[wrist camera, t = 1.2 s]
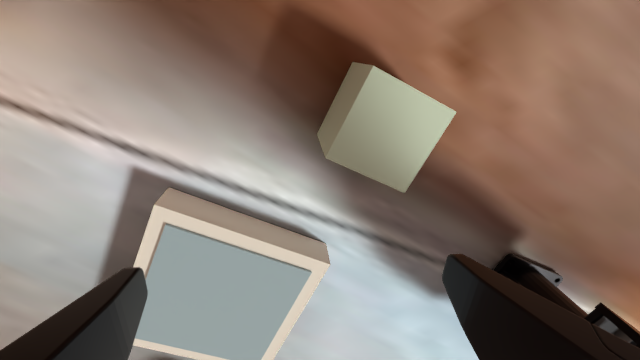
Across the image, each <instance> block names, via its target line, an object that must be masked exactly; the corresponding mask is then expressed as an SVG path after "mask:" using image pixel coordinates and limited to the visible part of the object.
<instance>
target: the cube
mask: <svg viewBox="0 0 640 360" xmlns="http://www.w3.org/2000/svg"><path fill="white" fill-rule="evenodd" d="M455 114H456V111H454V110H452V109H450V108H449V107H447V106H445V105H443V104H441V103H440V102H438V101H436V100H434V99H432V98H431V97H429V96H427V95H425V94H424V93H422V92H420V91H418V90H416V89H415V88H413V87H411V86H409V85H407V84H406V83H404V82H402V81H400V80H398V79H397V78H395V77H393V76H391V75H389V74H388V73H386V72H384V71H382V70H380V69H379V68H377V67H375V66H373V65H367V64H362V63H356V62H352V64H351V66H350V68H349V70H348V72H347V74H346V76H345V78H344V80H343V82H342V84H341V86H340V88H339V90H338V92H337V94H336V96H335V98H334V100H333V102H332V104H331V106H330V108H329V111H328V113H327V115H326V117H325V119H324V121H323V123H322V125H321V127H320V129H319V131H318V133H317V136H318V139H319V142H320V145H321V148H322V150H323V153H324V156H325V158H326V159H328V160H330V161H333V162H335V163H337V164H339V165H342V166H344V167H346V168H349V169H351V170H353V171H355V172H358V173H360V174H362V175H364V176H367V177H369V178H371V179H373V180H376V181H378V182H380V183H382V184H385V185H387V186H389V187H391V188H394V189H396V190H398V191H400V192H403V193H405V192H406V190H407V189H408V187H409V186H410V184H411V182H412V181H413V179H414V178H415V176H416V175H417V173H418V172H419V170H420V168H421V167H422V165H423V164H424V162H425V161H426V159H427V157H428V156H429V154H430V153H431V151H432V150H433V148H434V147H435V145H436V143H437V142H438V140H439V139H440V137H441V136H442V134H443V132H444V131H445V129H446V128H447V126H448V125H449V123H450V122H451V120H452V118H453V117H454V115H455Z"/></svg>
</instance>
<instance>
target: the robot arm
mask: <svg viewBox="0 0 640 360" xmlns="http://www.w3.org/2000/svg"><path fill="white" fill-rule="evenodd" d="M442 280H443V283H444V286H445V288H446V291H447V293H448V295H449V298H450V300H451V303H452V305H453V307H454V310H455V312H456V314H457V317H458V319H459V322H460V324H461V326H462V328H463V330H464V332H465V334H466V336H467V338H468V340H469V341H470V343H471V345H472V347H473V349H474V351H475V353H476V354H477V356H478V358H479V360H640V332H639V331H638V330H637V329H635V328H634V327H633V326H632V325H630V324H629V323H628V322H626V321H625V320H624V319H622V318H621V317H619V316H618V315H617V314H615V313H614V312H613V311H611V310H610V309H609V308H607V307H606V306H605V305H603V304H602V303H599V304H598V305H597V306H596V307H595V308H596V309H595V310H593V311H592V312H591V313H590V314H587V313H586V312H584V311H583V310H582V309H581V308H580V307H579V306H578V305H576V304H575V303H574V302H573V301H572V300H571V299H570V298H568V297H567V296H566V295H565V294H564V293H563V292H562V291H560V290H559V289H558V288H557V286H558V285H559V284H560V283H561V282H562V280H563V278H562V277H561V276H560V275H559V274H558V273H556V272H553V271H551V270H549V269H546V268H544V267H541V266H539V265H537V264H534V263H532V262H530V261H527V260H525V259H523V258H520V257H518V256H516V255H513V254H509V255H507V256H506V257H505V258H504V259H503V260H502V261H501V262H500V264H499V265H498V266H497V267H496V269H495V270H494V271H493V270H491V269H489V268H487V267H486V266H484V265H482V264H480V263H478V262H476V261H474V260H473V259H471V258H469V257H467V256H465V255H463V254H450V255H449V256H448V257H447V260H446V263H445V267H444V270H443V274H442ZM147 296H148V290H147V285H146V281H145V276H144V272H143V270H142V268H140V267H130V268H124V269H122V270H120V271H119V272H117V273H116V274H114V275H113V276H111V277H110V278H108V279H107V280H105V281H104V282H102V283H101V284H99V285H98V286H96V287H95V288H93V289H92V290H90V291H89V292H87V293H86V294H84V295H83V296H81V297H80V298H78V299H77V300H75V301H74V302H72V303H71V304H69V305H68V306H66V307H65V308H63V309H62V310H60V311H59V312H57V313H56V314H54V315H53V316H51V317H50V318H48V319H47V320H45V321H44V322H42V323H41V324H39V325H38V326H36V327H35V328H33V329H32V330H30V331H29V332H27V333H26V334H24V335H23V336H21V337H20V338H18V339H17V340H15V341H14V342H12V343H11V344H9V345H8V346H6V347H5V348H3V349H2V350H0V360H128V357H129V355H130V352H131V349H132V346H133V343H134V339H135V336H136V333H137V330H138V326H139V323H140V320H141V317H142V313H143V310H144V307H145V304H146V300H147Z"/></svg>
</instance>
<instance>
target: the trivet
mask: <svg viewBox="0 0 640 360" xmlns="http://www.w3.org/2000/svg"><path fill="white" fill-rule="evenodd" d="M329 266H330V260H329V255H328V251H327V246H326V244H325V243H323V242H320V241H317V240H314V239H311V238H309V237H306V236H303V235H300V234H298V233H295V232H292V231H289V230H286V229H284V228H281V227H278V226H275V225H273V224H270V223H267V222H264V221H261V220H259V219H256V218H253V217H250V216H247V215H245V214H242V213H239V212H236V211H234V210H231V209H228V208H225V207H222V206H220V205H217V204H214V203H211V202H209V201H206V200H203V199H200V198H197V197H195V196H192V195H189V194H186V193H184V192H181V191H178V190H175V189H172V188H170V187H169V188H168V189H167V190H166V191H165V192H164V193H163V195H162V196H161V197H160V198H159V199H158V200H157V202H156V203H155V204H154V206H153V209H152V212H151V215H150V218H149V221H148V224H147V227H146V230H145V233H144V236H143V239H142V242H141V245H140V248H139V251H138V254H137V257H136V260H135V263H134V266H133V267H140V268H142V270H143V272H144V276H145V281H146V285H147V290H148V296H147V300H146V304H145V307H144V310H143V313H142V317H141V320H140V323H139V326H138V330H137V333H136V336H135V339H134V343H133V345H134V346H138V347H143V348H147V349H152V350H157V351H161V352H166V353H170V354H175V355H179V356H184V357H188V358H193V359H197V360H273V359H274V357H275V356H276V354H277V353H278V351H279V349H280V348H281V346H282V344H283V343H284V341H285V339H286V338H287V336H288V334H289V333H290V331H291V329H292V328H293V326H294V324H295V323H296V321H297V319H298V318H299V316H300V314H301V313H302V311H303V309H304V308H305V306H306V304H307V303H308V301H309V299H310V298H311V296H312V294H313V293H314V291H315V289H316V288H317V286H318V284H319V283H320V281H321V279H322V278H323V276H324V274H325V273H326V271H327V269H328V268H329Z"/></svg>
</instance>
